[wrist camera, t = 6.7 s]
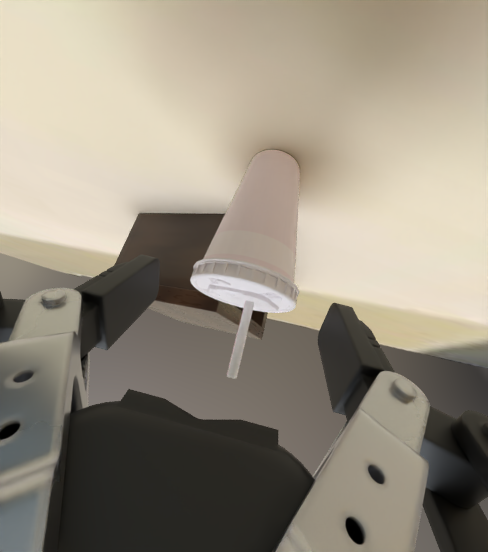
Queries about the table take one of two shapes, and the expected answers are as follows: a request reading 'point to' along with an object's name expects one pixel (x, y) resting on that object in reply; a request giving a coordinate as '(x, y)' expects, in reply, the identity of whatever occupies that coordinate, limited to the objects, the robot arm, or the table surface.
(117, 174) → the table surface
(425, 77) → the table surface
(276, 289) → the smoothie
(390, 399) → the robot arm
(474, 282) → the table surface
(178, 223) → the shelf
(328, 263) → the table surface
